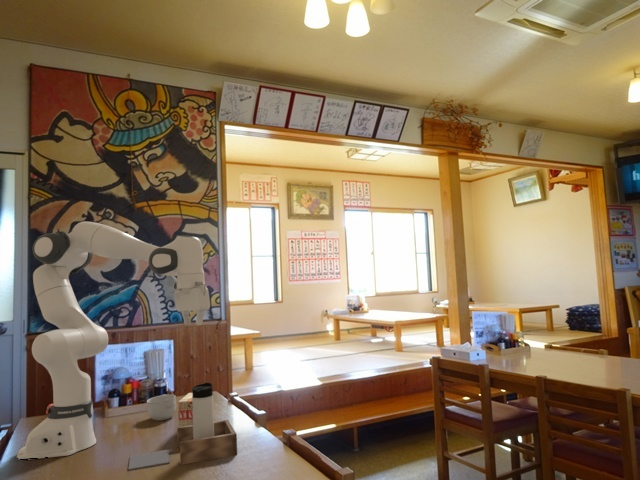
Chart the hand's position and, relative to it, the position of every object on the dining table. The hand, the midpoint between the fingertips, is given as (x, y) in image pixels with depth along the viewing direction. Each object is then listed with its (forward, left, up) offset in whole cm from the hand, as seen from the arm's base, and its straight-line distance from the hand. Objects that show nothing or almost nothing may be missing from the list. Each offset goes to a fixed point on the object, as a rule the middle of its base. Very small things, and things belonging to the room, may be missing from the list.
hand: (193, 324), depth 152 cm
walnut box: (+2, -8, -38) cm, 39 cm away
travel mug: (+2, -8, -38) cm, 39 cm away
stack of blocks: (+2, +18, -39) cm, 43 cm away
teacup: (-9, +39, -38) cm, 55 cm away
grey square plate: (-14, -8, -38) cm, 42 cm away
